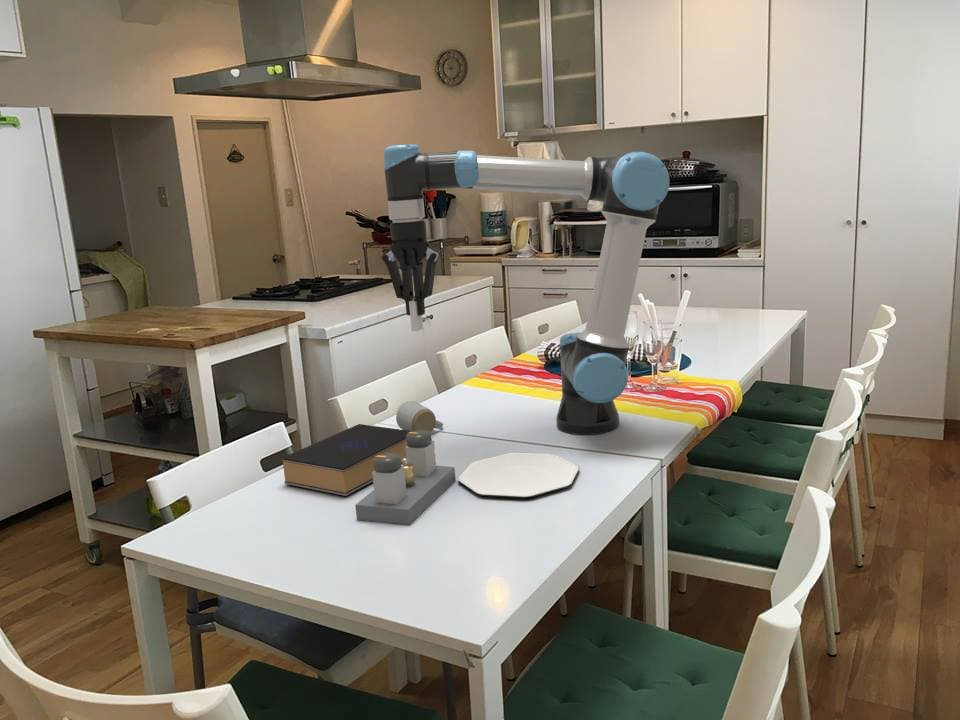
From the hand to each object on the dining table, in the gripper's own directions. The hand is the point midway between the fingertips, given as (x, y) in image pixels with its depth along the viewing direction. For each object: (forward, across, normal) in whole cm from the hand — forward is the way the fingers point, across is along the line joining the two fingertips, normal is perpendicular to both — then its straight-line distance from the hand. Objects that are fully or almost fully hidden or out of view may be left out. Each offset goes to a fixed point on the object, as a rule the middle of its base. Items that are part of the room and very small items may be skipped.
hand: (417, 329), depth 176 cm
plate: (+30, -24, +8) cm, 39 cm away
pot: (+26, -6, +23) cm, 36 cm away
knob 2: (+26, -6, +16) cm, 31 cm away
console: (+29, -6, +23) cm, 38 cm away
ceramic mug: (+30, +10, -17) cm, 36 cm away
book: (+30, +13, +11) cm, 34 cm away
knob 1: (+26, -6, +30) cm, 40 cm away
